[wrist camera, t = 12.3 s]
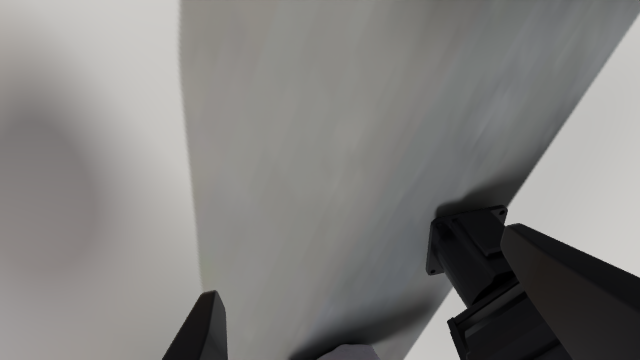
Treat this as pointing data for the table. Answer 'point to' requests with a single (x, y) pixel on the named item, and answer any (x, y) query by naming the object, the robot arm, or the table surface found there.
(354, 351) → the stone block
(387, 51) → the table surface
